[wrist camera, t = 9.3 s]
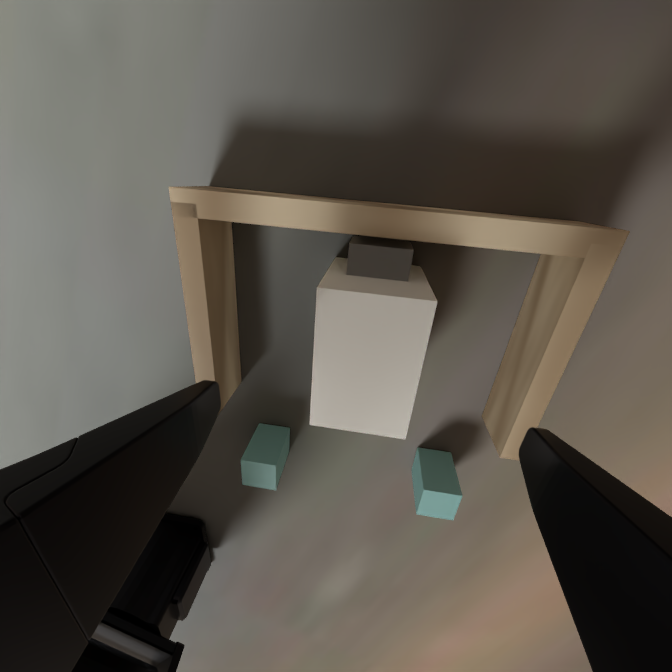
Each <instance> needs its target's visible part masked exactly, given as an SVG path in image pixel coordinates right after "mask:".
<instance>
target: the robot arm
mask: <svg viewBox="0 0 672 672" xmlns="http://www.w3.org/2000/svg"><path fill="white" fill-rule="evenodd" d="M220 408H221V398H220V389H219V384H218V383H217V382H216V381H210V380H203V381H200V382H198V383H196V384H194V385H192V386H189V387H187V388H185V389H183V390H180V391H178V392H176V393H174V394H172V395H169V396H167V397H165V398H163V399H160V400H158V401H156V402H154V403H151V404H149V405H147V406H145V407H143V408H140V409H138V410H136V411H134V412H131V413H129V414H127V415H125V416H123V417H120V418H118V419H116V420H114V421H111V422H109V423H107V424H105V425H103V426H100V427H98V428H96V429H94V430H91V431H89V432H87V433H85V434H83V435H80V436H79V437H78V438H73V439H71V440H69V441H67V442H65V443H62V444H60V445H58V446H56V447H53V448H51V449H49V450H46V451H44V452H42V453H40V454H37V455H35V456H33V457H30V458H28V459H25V460H23V461H20V462H18V463H15V464H13V465H10V466H8V467H5V468H3V469H0V672H176V670H177V667H178V664H179V661H180V658H181V655H182V652H183V649H184V644H182V643H180V642H176V643H175V642H173V641H171V640H169V638H170V636H171V634H172V632H173V629H174V627H175V625H176V623H177V621H178V620H181V621H183V620H184V619H185V618H186V617H187V615H188V613H189V611H190V608H191V606H192V604H193V602H194V599H195V597H196V595H197V593H198V590H199V588H200V586H201V584H202V581H203V579H204V577H205V575H206V572H207V571H208V570H209V568H210V566H211V559H210V553H209V546H208V543H207V538H206V532H205V525H204V523H203V522H202V521H200V520H198V519H192V518H186V517H181V516H175V515H170V514H165V513H166V511H167V509H168V508H169V506H170V504H171V503H172V501H173V499H174V497H175V496H176V494H177V492H178V491H179V489H180V487H181V486H182V484H183V482H184V481H185V479H186V477H187V476H188V474H189V472H190V471H191V469H192V467H193V466H194V464H195V462H196V460H197V459H198V457H199V455H200V453H201V451H202V449H203V447H204V444H205V442H206V440H207V438H208V436H209V433H210V431H211V429H212V427H213V425H214V423H215V420H216V418H217V416H218V414H219V411H220ZM519 460H520V464H521V468H522V471H523V475H524V479H525V483H526V487H527V491H528V495H529V498H530V502H531V506H532V509H533V512H534V515H535V518H536V521H537V523H538V526H539V529H540V531H541V534H542V537H543V539H544V542H545V545H546V548H547V550H548V553H549V556H550V558H551V561H552V564H553V566H554V569H555V572H556V574H557V577H558V580H559V582H560V585H561V588H562V590H563V593H564V596H565V598H566V601H567V604H568V606H569V609H570V612H571V614H572V617H573V620H574V623H575V625H576V628H577V631H578V633H579V636H580V639H581V641H582V644H583V647H584V649H585V652H586V655H587V657H588V660H589V663H590V665H591V668H592V671H593V672H672V517H670V516H669V515H668V514H666V513H665V512H663V511H662V510H660V509H659V508H658V507H656V506H655V505H653V504H652V503H651V502H649V501H648V500H646V499H645V498H643V497H642V496H641V495H639V494H638V493H636V492H635V491H634V490H632V489H631V488H629V487H628V486H626V485H625V484H624V483H622V482H621V481H619V480H618V479H617V478H615V477H614V476H612V475H611V474H610V473H608V472H607V471H605V470H604V469H602V468H601V467H600V466H598V465H597V464H595V463H594V462H593V461H591V460H590V459H588V458H587V457H585V456H584V455H583V454H581V453H580V452H578V451H577V450H576V449H574V448H573V447H571V446H570V445H568V444H567V443H566V442H564V441H563V440H561V439H560V438H559V437H557V436H556V435H554V434H553V433H551V432H550V431H549V430H547V429H542V428H535V427H531V428H529V429H528V430H527V432H526V434H525V437H524V439H523V441H522V443H521V445H520V448H519Z"/></svg>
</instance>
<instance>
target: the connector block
mask: <svg viewBox="0 0 672 672" xmlns="http://www.w3.org/2000/svg"><path fill="white" fill-rule="evenodd" d="M413 253H414V249H413V247H412V245H411V243H410V241H402V240H392V239H383V238H373V237H363V236H353V237H352V239H351V241H350V243H349V251H348V258H339V257H335V259H334V260H333V262H332V264H331V265H330V267H329V269H328V270H327V272H326V273H325V275H324V277H323V278H322V280H321V282H320V283H319V285H318V286H317V294H316V313H315V332H314V351H313V369H312V388H311V407H310V425H313V426H320V427H327V428H333V429H340V430H347V431H353V432H360V433H367V434H373V435H380V436H386V437H393V438H400V439H406V435H407V430H408V426H409V422H410V418H411V413H412V409H413V405H414V400H415V396H416V392H417V387H418V383H419V379H420V375H421V370H422V366H423V362H424V357H425V353H426V349H427V345H428V340H429V336H430V332H431V327H432V323H433V319H434V315H435V310H436V306H437V302H438V301H437V299H436V297H435V295H434V293H433V291H432V289H431V287H430V285H429V283H428V281H427V278H426V276H425V274H424V272H423V270H422V268H421V266H414V265H411V263H412V258H413Z"/></svg>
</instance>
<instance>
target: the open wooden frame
mask: <svg viewBox="0 0 672 672" xmlns="http://www.w3.org/2000/svg"><path fill="white" fill-rule="evenodd" d="M169 192H170V200H171V207H172V214H173V221H174V228H175V236H176V243H177V250H178V257H179V265H180V272H181V279H182V286H183V293H184V301H185V308H186V315H187V322H188V329H189V337H190V344H191V351H192V358H193V365H194V373H195V380H196V383H198V382H200V381H203V380H210V381H216V382H217V383H218V384H219V389H220V398H221V408H220V411H219V413H220V412H221V410H222V409H223V408H224V406H225V405H226V403H227V402H228V400H229V399H230V398H231V396H232V395H233V393H234V392H235V390H236V389H237V388H238V386H239V385H240V383H241V382H242V381H241V365H240V349H239V332H238V316H237V300H236V284H235V267H234V251H233V235H232V222H238V223H248V224H257V225H267V226H277V227H286V228H296V229H306V230H315V231H325V232H335V233H344V234H354V235H364V236H373V237H383V238H393V239H402V240H412V241H422V242H431V243H441V244H451V245H460V246H470V247H480V248H490V249H499V250H509V251H519V252H528V253H538V254H541V255H540V258H539V261H538V263H537V266H536V269H535V272H534V274H533V277H532V280H531V283H530V285H529V288H528V291H527V294H526V296H525V299H524V302H523V305H522V307H521V310H520V313H519V316H518V318H517V321H516V324H515V327H514V329H513V332H512V335H511V338H510V340H509V343H508V346H507V348H506V351H505V354H504V357H503V359H502V362H501V365H500V368H499V370H498V373H497V376H496V379H495V381H494V384H493V387H492V390H491V392H490V395H489V398H488V401H487V403H486V406H485V409H484V412H483V414H482V418H483V420H484V422H485V425H486V427H487V429H488V431H489V434H490V436H491V438H492V441H493V443H494V445H495V447H496V450H497V452H498V454H499V457H500V458H507V459H513V460H519V448H520V445H521V443H522V441H523V439H524V437H525V434H526V432H527V430H528V429H529V428H531V427H535V428H537V427H538V425H539V423H540V421H541V418H542V416H543V414H544V412H545V410H546V408H547V406H548V404H549V402H550V399H551V397H552V395H553V393H554V391H555V389H556V387H557V385H558V382H559V380H560V378H561V376H562V374H563V372H564V370H565V368H566V366H567V363H568V361H569V359H570V357H571V355H572V353H573V351H574V349H575V347H576V344H577V342H578V340H579V338H580V336H581V334H582V332H583V330H584V327H585V325H586V323H587V321H588V319H589V317H590V315H591V313H592V311H593V308H594V306H595V304H596V302H597V300H598V298H599V296H600V294H601V292H602V289H603V287H604V285H605V283H606V281H607V279H608V277H609V275H610V272H611V270H612V268H613V266H614V264H615V262H616V260H617V258H618V256H619V253H620V251H621V249H622V247H623V245H624V243H625V241H626V239H627V236H628V234H629V232H630V231H626V230H621V229H616V228H610V227H605V226H600V225H595V224H590V223H584V222H579V221H569V220H558V219H548V218H537V217H527V216H516V215H506V214H495V213H485V212H474V211H464V210H453V209H442V208H432V207H421V206H411V205H400V204H390V203H379V202H369V201H358V200H348V199H337V198H327V197H316V196H306V195H295V194H285V193H274V192H264V191H253V190H243V189H232V188H222V187H211V186H192V187H169ZM218 415H219V414H218Z"/></svg>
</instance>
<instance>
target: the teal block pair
mask: <svg viewBox="0 0 672 672" xmlns="http://www.w3.org/2000/svg"><path fill="white" fill-rule="evenodd" d="M289 445H290V428H288V427H282V426H275V425H268V424H262V423H259V424H258V426H257V428H256V430H255V432H254V434H253V436H252V438H251V440H250V442H249V444H248V446H247V448H246V450H245V452H244V454H243V456H242V458H241V473H242V485H247V486H253V487H259V488H264V489H270V490H276V489H277V486H278V483H279V480H280V477H281V474H282V471H283V468H284V465H285V462H286V459H287V457H288V454H289ZM412 479H413V488H414V497H415V506H416V514H418V515H424V516H430V517H436V518H442V519H448V520H453V519H454V517H455V514H456V511H457V509H458V506H459V504H460V501H461V498H462V493H461V489H460V485H459V481H458V477H457V474H456V470H455V466H454V462H453V458H452V455H451V452H445V451H438V450H432V449H425V448H419V447H418V448H417V452H416V456H415V459H414V463H413V467H412Z"/></svg>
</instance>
